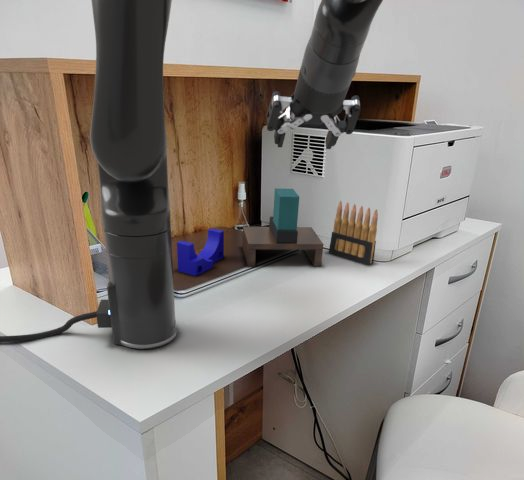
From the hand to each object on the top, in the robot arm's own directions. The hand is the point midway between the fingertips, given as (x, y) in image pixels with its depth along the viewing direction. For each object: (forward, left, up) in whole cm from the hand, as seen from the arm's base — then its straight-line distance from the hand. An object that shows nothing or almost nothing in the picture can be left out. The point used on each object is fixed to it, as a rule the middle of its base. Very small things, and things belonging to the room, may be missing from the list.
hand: (303, 143), depth 85 cm
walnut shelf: (0, +15, -26) cm, 30 cm away
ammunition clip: (+16, +14, -26) cm, 33 cm away
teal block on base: (0, +15, -21) cm, 25 cm away
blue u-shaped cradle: (-17, +10, -26) cm, 33 cm away
